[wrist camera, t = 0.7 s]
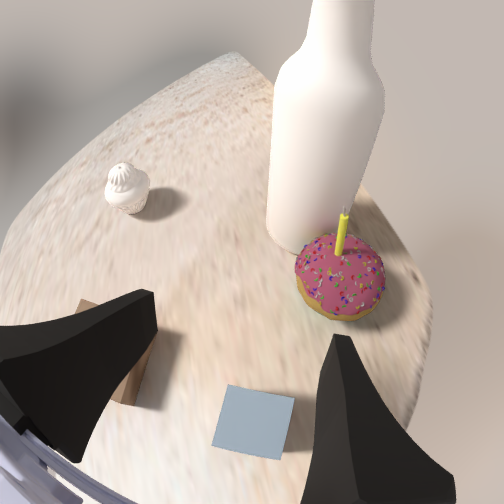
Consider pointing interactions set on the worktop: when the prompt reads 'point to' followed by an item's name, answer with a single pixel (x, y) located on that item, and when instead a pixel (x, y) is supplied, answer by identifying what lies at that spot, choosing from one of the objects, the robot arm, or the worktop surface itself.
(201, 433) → the worktop surface
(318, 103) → the white bottle
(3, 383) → the robot arm
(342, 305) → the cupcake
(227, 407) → the blue cube
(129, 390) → the walnut base
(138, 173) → the muffin
